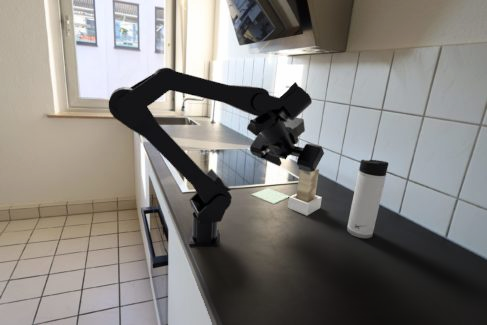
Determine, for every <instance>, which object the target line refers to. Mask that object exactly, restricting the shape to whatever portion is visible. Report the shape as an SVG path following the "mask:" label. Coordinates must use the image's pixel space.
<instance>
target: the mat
mask: <svg viewBox="0 0 487 325" xmlns="http://www.w3.org/2000/svg"><path fill="white" fill-rule="evenodd" d="M250 195H251V196H253V197H254V198H257V199H260V200H262V201H265V202H267V203H270V204H272V205H276V204H277V203H280V202H282V201H284V200H286V199H289V198H288V197H290V196H291V195H287V194H286V193H282V192H279V191H277V190H275V189H272V188H269V187H267V188H264V189H262V190H259V191H256V192H254V193H251V194H250Z"/></svg>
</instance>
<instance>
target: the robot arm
mask: <svg viewBox="0 0 487 325" xmlns="http://www.w3.org/2000/svg"><path fill="white" fill-rule="evenodd" d="M169 91H171V92H172V91H173V92H175V93H176V92H177V93H181V94H186V95H190V96H194V97H198V98H203V99H206V100H210V101H216V102H220V103H222V104H223V103H224V104H226V105H228V106H230V107H232V108H235V109H237V110H239V111H241V112H244V113H247V114H250V115H251V116H255V117H254V118H253V119H252V118H251V119H250V120H249V124H247V127H246V129H247V130H248V131H249V132H250V133H252V134H253V135H254V136H255V138H254V140H253V142H252V143H251V144H250V146H249V150H250V151H249V152H250V153H251V155H252V156H255V157H257V158H259V159H262V160H263V161H266V162H268V163H271V164H273V165H276V166H278V167H281V165H282V161H281V159H284V160H286V159H287V158H288V157H290V156H293V157H296V158H297V159H296V165H297V168H298V170H299V171H300V170H301V171H303V172H304V173H306V174H308V175H309V174H310V173H311V172H312V171H315V169H316V168H318V165H319V164H320V161H321V160H322V158H323V156H324V155H325V152H324V149H323V147H322V145H317V144H313V143H306V144H305V145H304V147H300V146H297V145H298V143H299V139H300V138H299V137H300V136H301V135H302V134H303V133H305V132H306V126H305V121H304V119H303V118H301V117H299V116H300V115H301V114H302V113H303V112H304V111H305V110H306V109H307V108H309V106H311V105H312V98H311V96H310V94H309V93H308V92H307V91H305V90H304V89H303V88H302V87H300V85H298V83H297V82H296V81H290V82H289V83H288V84H287V85H286V86H285V87H284V88H283V90H281V91H280V92H279V93H278V94H277V95H271V94H270V93H269V90H267V89H265V88H263V87H258V86H251V85H249V86H248V85H236V84H226V83H222V82H219V81H218V82H217V81H215V80H212V79H211V80H210V79H207V78H202V77H199V76H195V75H191V74H186V73H183V72H179V71H176V70H174V69H172V68H170V67H161V68H158V69H157V70H156V71H155V72H154V73H152V74H150V75H149V76H147V77H145V78H144V79H142V80H140V81H139V82H137V83H135V84H134V85H132V86H131V87H127V86H121V87H118V88H116V89H114V90H113V92H112V93H111V94H110V97H109V100H108V111H109V113H110V115H112V117H113V118H114V119H115V120H116V121H119V122H120V123H121V124H123V125H125V127H126V128H128V129H130V130H131V131H133V132H135V133H137V134H138V135H139V136H142V137H143V138H144V139H146V141H148V142H149V144H151V145H152V146H153V148H154V149H156V151H158V153H160V154H161V155H162V157H163V158H165V159H166V160H167V162H168V163H170V165H172V166H173V167H174V168H175V170H177V171H178V172H179V174H180V175H181V176H182V177H183V178H184V179H185V180H186V181H187V182H188V183H189V184H191V186H192V187H193V188H194V190H195V194H194V195H193V196H192V197H191V198H189V201H188V202H189V205H190V207H191V208H192V210H193V213H192V229H191V231H190V235H189V236H190V237H189V241H188V245H189V246H197V247H198V246H204V247H205V246H206V247H207V246H208V247H217V246H219V245H220V244H219V242H220V241H219V238H220V235H219V234H220V230H219V229H218V225H219V223H221V222H222V220H223V218H224V215H225V213H226V210H227V209H229V207H230V206H231V203H232V199H233V198H232V195H231V193H230V192H229V191H231V188H230V187H229V186H228V185H227V184H226V182H224V180H223V179H222V178H221V177H219V175H218V174H217V173H216V171H214V170H213V168H210V169H209V171H205V170H204V169H203V168H201V167H200V166H199V165H198V164H197V163H196V161H194V160H193V158H191V157H190V156H189V155H188V153H187V152H186V151H185V150H184V149H183V148H182V147H181V146H180V145H179V144H178V143H177V142H176V140H175V139H174V138H173V137H172V136H171V135H170V134H169V133H168V132H167V131H166V130H165V129H164V128H163V127H162V126H161V124H160V123H158V121H157V119H156V118H155V116H154V115H153V113H152V111H151V110H150V108H149V106H151V105H152V104H153V103H155V102H156V101H157V100H159V99H160V98H161V97H163V96H164V95H165V94H166V93H168V92H169Z"/></svg>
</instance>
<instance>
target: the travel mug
mask: <svg viewBox="0 0 487 325" xmlns="http://www.w3.org/2000/svg"><path fill="white" fill-rule="evenodd" d="M388 167H389V162H388V161H384V160H377V159H369V160H368V159H367V160H365V159H361V160H360V164H359V169H358V173H357V178H356V182H355V183H356V184H355V188H354V193H353V198H352V202H351V206H350V212H349V217H348V221H347V222H348V223H347V228H346V230H347V232H348V233H349V234H350V235H351V236H354V237H356V238H359V239H370V238H372V237H373V233H374V229H375V225H376V221H377V217H378V213H379V210H380V209H379V208H380V203H381V200H382V199H381V198H382V194H383V190H384V185H385V182H386V177H387V171H388Z"/></svg>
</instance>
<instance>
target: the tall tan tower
mask: <svg viewBox="0 0 487 325" xmlns="http://www.w3.org/2000/svg"><path fill="white" fill-rule="evenodd" d="M319 172H320V168H318V167H316V169H315V171H312V172H311V173H310V174H309V175H308V174H306V173H304V172H303V171H301V170H300V169H299V174H298V175H299V176H298V182H297V187H296V188H297V191H296V194H297V195H296V199H299V200H301V201H304V202H307V203H308V202H310V201H312V200H314V199H315V195H316V192H317V187H318V178H319V174H320V173H319Z"/></svg>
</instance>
